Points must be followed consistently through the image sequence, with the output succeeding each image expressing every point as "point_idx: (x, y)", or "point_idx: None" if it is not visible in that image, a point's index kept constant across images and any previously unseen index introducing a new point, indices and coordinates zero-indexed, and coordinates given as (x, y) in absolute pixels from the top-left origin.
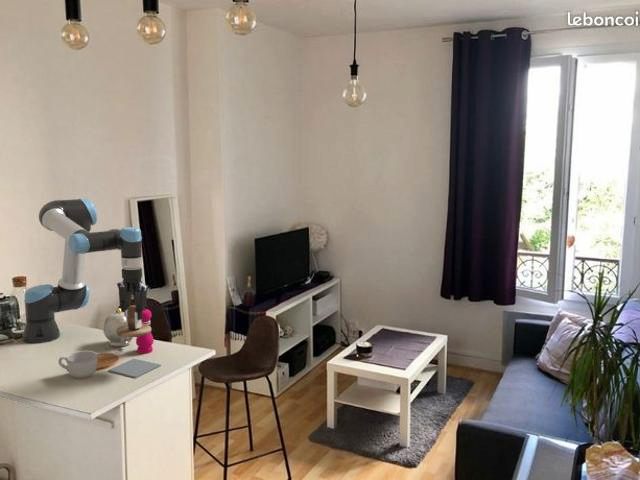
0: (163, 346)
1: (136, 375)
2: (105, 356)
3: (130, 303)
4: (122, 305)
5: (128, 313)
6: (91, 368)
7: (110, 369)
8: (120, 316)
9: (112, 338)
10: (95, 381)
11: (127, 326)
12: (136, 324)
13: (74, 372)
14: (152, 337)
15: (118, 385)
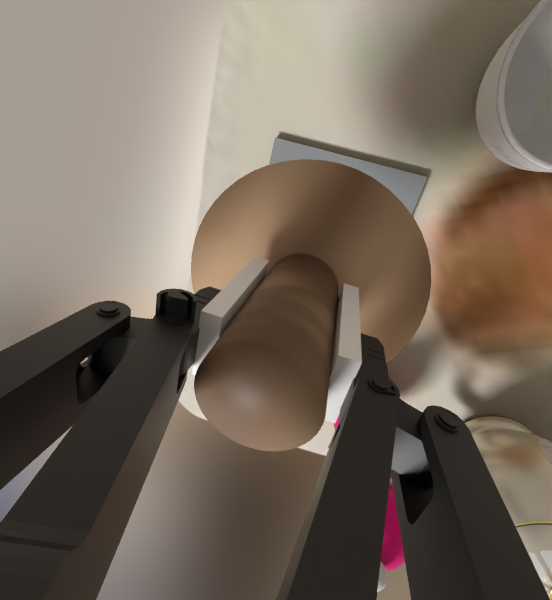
0: (322, 429)
1: (279, 150)
2: (505, 328)
3: (321, 471)
4: (423, 429)
5: (308, 318)
6: (494, 59)
7: (418, 184)
8: (532, 550)
9: (522, 433)
10: (439, 40)
11: (343, 285)
12: (245, 266)
13: None
14: (335, 428)
15: (309, 33)
